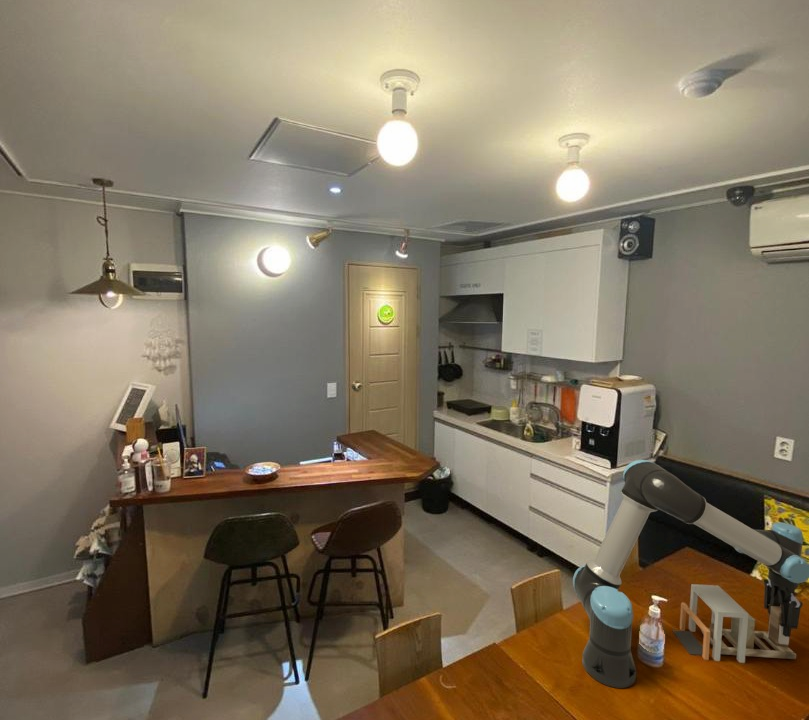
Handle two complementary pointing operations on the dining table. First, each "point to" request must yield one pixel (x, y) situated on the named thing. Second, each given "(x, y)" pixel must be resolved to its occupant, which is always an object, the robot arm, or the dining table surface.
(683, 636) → the pit mat
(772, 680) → the dining table surface
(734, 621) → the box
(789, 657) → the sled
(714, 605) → the grey and orange stand
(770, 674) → the dining table surface
